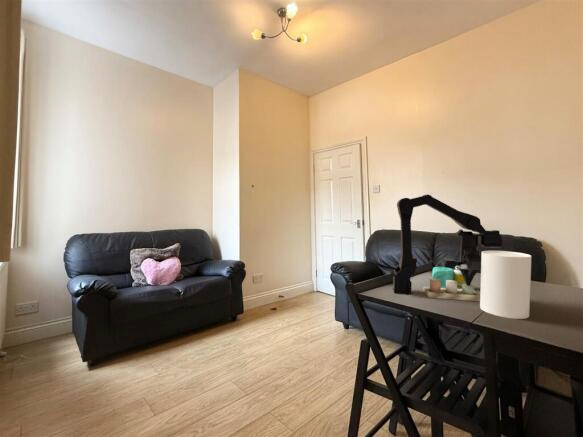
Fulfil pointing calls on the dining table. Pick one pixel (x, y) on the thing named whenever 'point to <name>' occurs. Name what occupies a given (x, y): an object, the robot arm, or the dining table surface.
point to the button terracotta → (435, 285)
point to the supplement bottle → (458, 278)
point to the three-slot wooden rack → (451, 294)
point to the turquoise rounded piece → (442, 275)
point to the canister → (505, 283)
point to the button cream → (451, 286)
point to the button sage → (467, 289)
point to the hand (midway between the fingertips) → (468, 285)
